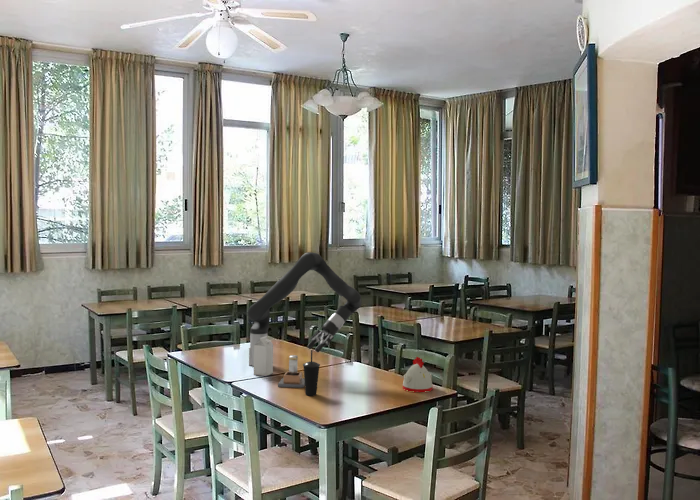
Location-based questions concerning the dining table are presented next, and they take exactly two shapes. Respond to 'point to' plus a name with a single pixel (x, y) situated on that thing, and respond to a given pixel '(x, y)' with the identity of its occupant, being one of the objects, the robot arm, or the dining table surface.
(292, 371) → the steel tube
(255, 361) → the milk carton
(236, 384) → the dining table surface
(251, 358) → the robot arm
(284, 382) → the collar plate
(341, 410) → the dining table surface
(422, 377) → the kitchen timer
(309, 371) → the drinking cup
